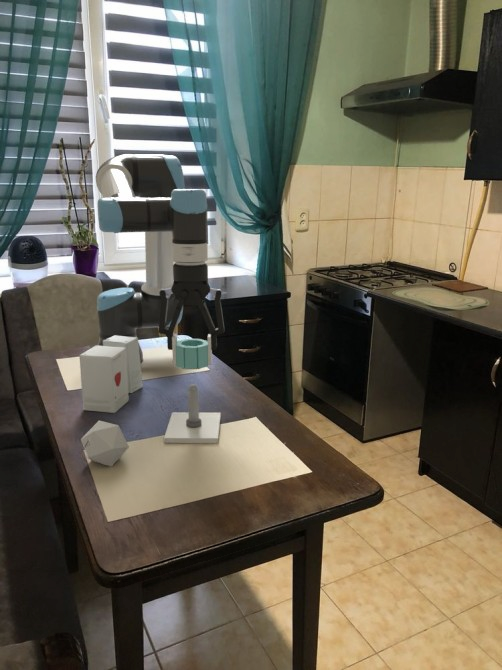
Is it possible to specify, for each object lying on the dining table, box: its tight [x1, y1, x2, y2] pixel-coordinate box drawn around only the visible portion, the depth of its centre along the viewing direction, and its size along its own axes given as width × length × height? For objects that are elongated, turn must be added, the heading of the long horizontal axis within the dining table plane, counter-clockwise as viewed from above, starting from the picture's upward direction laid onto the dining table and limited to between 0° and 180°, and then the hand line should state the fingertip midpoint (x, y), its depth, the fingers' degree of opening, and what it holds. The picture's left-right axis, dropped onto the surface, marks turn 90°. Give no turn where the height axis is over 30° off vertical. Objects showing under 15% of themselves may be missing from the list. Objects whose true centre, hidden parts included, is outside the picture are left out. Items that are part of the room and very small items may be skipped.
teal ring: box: [175, 338, 209, 370], centre depth 122 cm, size 7×7×5 cm
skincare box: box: [103, 335, 143, 394], centre depth 150 cm, size 8×6×15 cm
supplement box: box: [78, 345, 130, 414], centre depth 139 cm, size 9×9×15 cm
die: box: [80, 420, 130, 467], centre depth 112 cm, size 8×9×10 cm
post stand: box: [163, 383, 221, 444], centre depth 126 cm, size 14×12×11 cm
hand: (192, 363), depth 123 cm, fingers closed on teal ring, 7 cm apart
